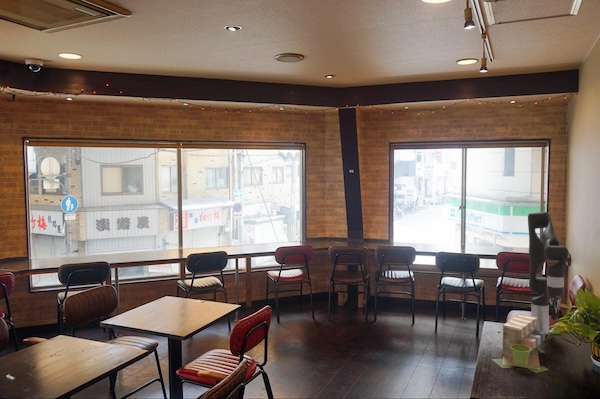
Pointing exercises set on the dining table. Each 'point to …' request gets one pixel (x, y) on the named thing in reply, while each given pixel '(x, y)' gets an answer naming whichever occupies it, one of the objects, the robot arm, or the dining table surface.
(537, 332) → the key charcoal
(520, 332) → the console
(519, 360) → the plant pot
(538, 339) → the key slate
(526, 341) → the key terracotta
